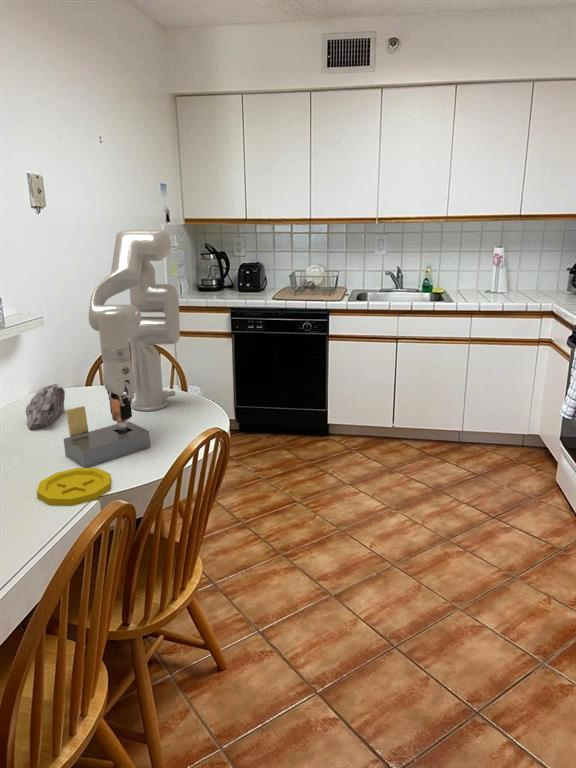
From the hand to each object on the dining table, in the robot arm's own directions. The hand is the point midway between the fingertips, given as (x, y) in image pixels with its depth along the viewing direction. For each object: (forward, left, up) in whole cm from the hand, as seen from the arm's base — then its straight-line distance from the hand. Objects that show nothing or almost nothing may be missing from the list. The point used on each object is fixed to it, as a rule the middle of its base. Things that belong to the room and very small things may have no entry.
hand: (121, 415), depth 163 cm
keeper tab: (+11, -4, 0) cm, 12 cm away
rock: (+7, -39, -10) cm, 41 cm away
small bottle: (0, 0, -5) cm, 5 cm away
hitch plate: (+5, 0, -10) cm, 11 cm away
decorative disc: (+22, +15, -10) cm, 29 cm away
